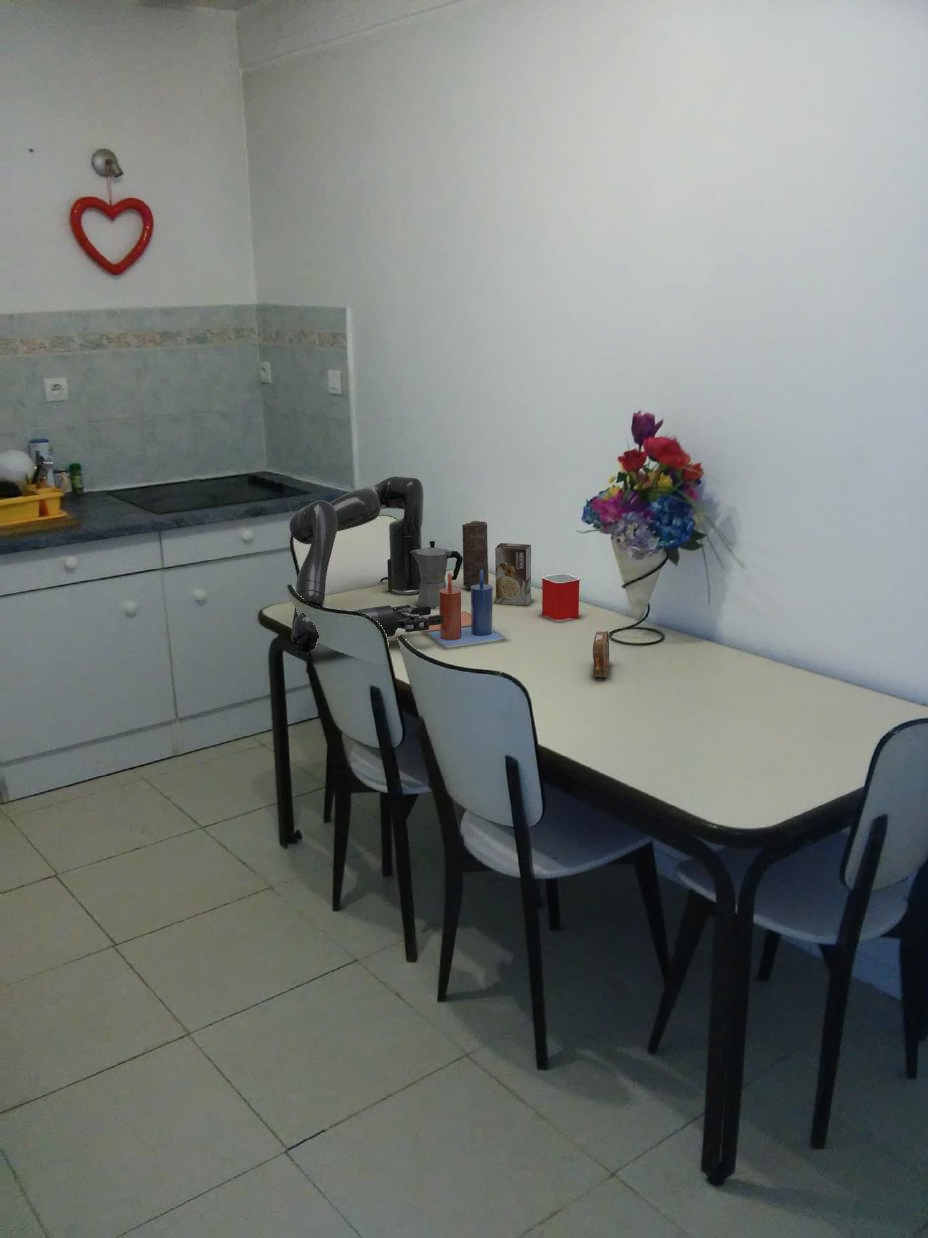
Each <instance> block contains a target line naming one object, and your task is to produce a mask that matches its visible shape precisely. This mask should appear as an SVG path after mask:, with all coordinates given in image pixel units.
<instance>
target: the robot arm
mask: <svg viewBox="0 0 928 1238" xmlns="http://www.w3.org/2000/svg"><path fill="white" fill-rule="evenodd" d="M424 498H425V497H424V486H423V483H422V482H421V480H420V479H419V478H417V477H410V476H399V475H393V476H390V477H387V478H386V479H383V480H381V481H380V482H378V483H376V484H374V485H371V486H367V487H363V488H359V489H356V490H353V491H352V490H351V491H350V492H347V493H345V494H343V495H340V496H339V497H337V498H335V499H333V500H332V501H330V502H328V501H327V500H324V499H319V500H316V501H313V502H311V503H309V504H307V505H305V506H303V507H302V508H300V509H298V510H297V511H296V512H294V513H293V515H292V516H291V518H290V520H289V531H290V535H291V536H292V538H294V540H296V541H297V542H299V543H300V544H303V545H309V549H308V552H307V554H306V556H305V558H304V560H303V563H302V565H301V566H300V570H299V571H298V575H297V578H296V583H295V584H296V585H295V593H296V592H297V593H298V594H299V595H300V596H302V598H304V600H306V601H307V602H309V603H312V604H314V605H317V606H320V607H323V608H324V605H325V599H326V585H327V584H326V583H327V575H328V569H329V568H328V567H329V564H330V562H331V561H330V560H331V556H332V553H333V548H334V544H335V540H336V536H337V533H338V532H342V531H347V530H350V529H354V528H356V527H360V526H364V525H365V524H368V523H371V522H373V521H375V520H376V519H377V518H378V517H379V515H380V514H381V510H386V509H393V510H403V517H402V518H400V519H397V520H394V521H392V522H390V523H389V524H388V535H389V536H388V537H389V558H388V559H387V562H386V563H387V576H384V577H382V578H380V580H379V583H383V582H384V581H385V580H386V581H387V592H391V593H392V594H396V595H416V594H419V591H420V583H421V576H420V572H419V566H418V563H417V561H416V560H415V558H414V556H413V555H412V554H411V553H410V552H411V551H412V550H417V549H423V546H422V545H423V544H422V543H423V541H422V539H423V538H422V527H423V521H424ZM350 611H351V612H360V613H362V614H366V615H368V616H371V618H374V619H375V620H376V621H378V623H380V625H382V627H383V629H384V630H385V633H386V634H387V637H393V636H395V635H396V633H397V630H398V629H402V630H404V632H405V633H414V632H422V631H424V630H429V626H432V625H440V624H443V616H442V615H440V614H434V615H435V616H432V615H431V613H432V608H431V607H430V606H423V607H420V606H413V605H412V606H411V604H405V605H398V606H392V605H388V604H387V605H381V606H373V607H365V608H360V609H356V610H350ZM425 616H426V617H425ZM427 616H428V617H427ZM415 619H416V620H415ZM420 619H421V620H420ZM420 623H424V624H420ZM387 637H386V638H387ZM318 638H319V635H318V632H317V630H316V627H315V625H313V623H312V622H311V620H310V619H309V618H308V617H307V616H306V615H305V614H304V613H302V614H300V615H299V616H298V614H297V612H296V608H295V607H294V612H293V618H292V623H291V630H290V640H291V643H292V645H293V646H294V648H296V649H297V650H298V651H301V652H305V653H306V652H311V651H313V650H315V649H316V648H315V646H316V642H317V639H318Z"/></svg>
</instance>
